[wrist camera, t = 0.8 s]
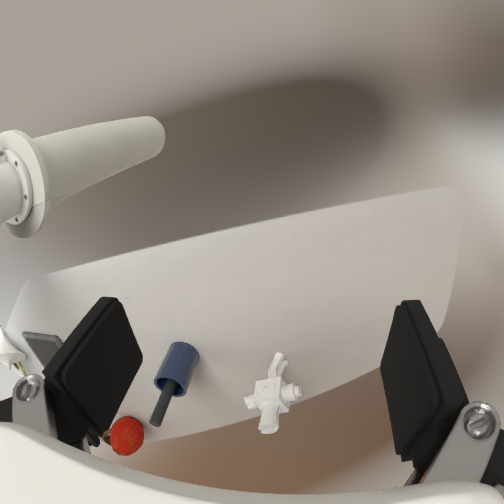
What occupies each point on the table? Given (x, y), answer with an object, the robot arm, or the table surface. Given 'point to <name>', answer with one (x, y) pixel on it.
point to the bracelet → (107, 436)
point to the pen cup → (177, 367)
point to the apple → (126, 436)
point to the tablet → (43, 346)
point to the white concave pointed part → (9, 352)
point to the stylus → (163, 403)
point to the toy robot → (273, 395)
